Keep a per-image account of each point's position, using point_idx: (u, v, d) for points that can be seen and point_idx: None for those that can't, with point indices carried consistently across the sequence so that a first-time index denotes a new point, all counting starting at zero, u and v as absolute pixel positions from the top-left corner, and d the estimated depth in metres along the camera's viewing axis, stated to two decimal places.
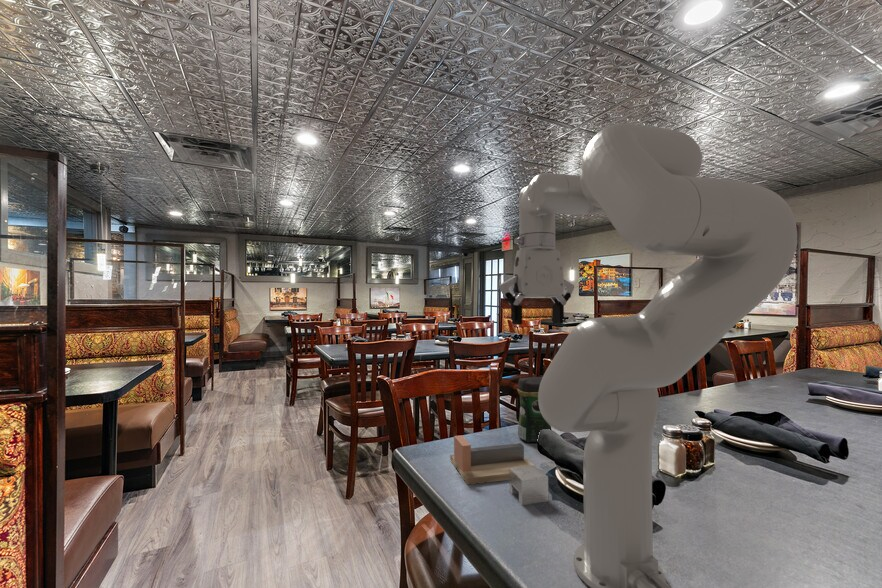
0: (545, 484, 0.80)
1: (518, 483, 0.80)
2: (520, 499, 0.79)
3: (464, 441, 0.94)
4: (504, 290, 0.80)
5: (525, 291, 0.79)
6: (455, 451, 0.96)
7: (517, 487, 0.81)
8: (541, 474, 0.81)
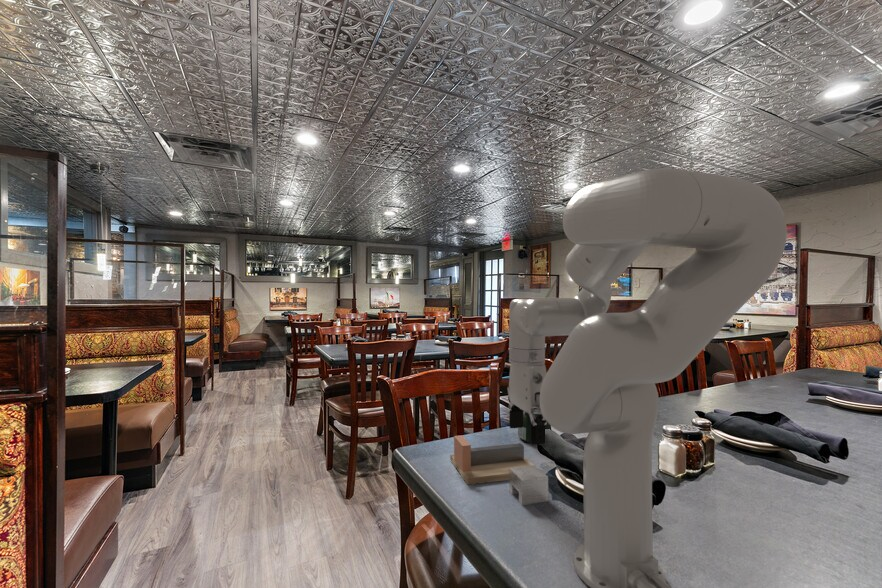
0: (545, 484, 0.80)
1: (518, 483, 0.80)
2: (520, 499, 0.79)
3: (464, 441, 0.94)
4: None
5: None
6: (455, 451, 0.96)
7: (517, 486, 0.81)
8: (541, 474, 0.81)
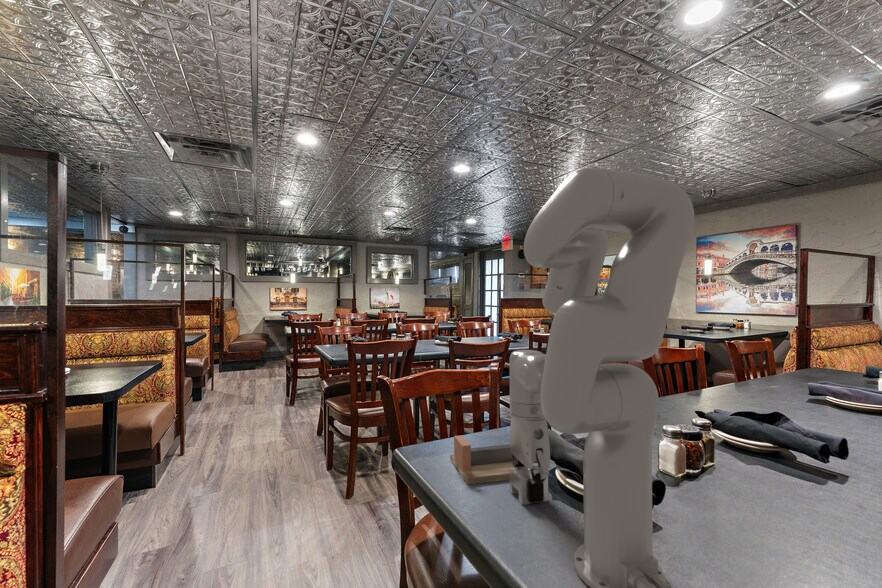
0: (545, 484, 0.80)
1: (518, 483, 0.80)
2: (520, 499, 0.79)
3: (464, 441, 0.94)
4: None
5: None
6: (455, 451, 0.96)
7: (516, 486, 0.81)
8: None
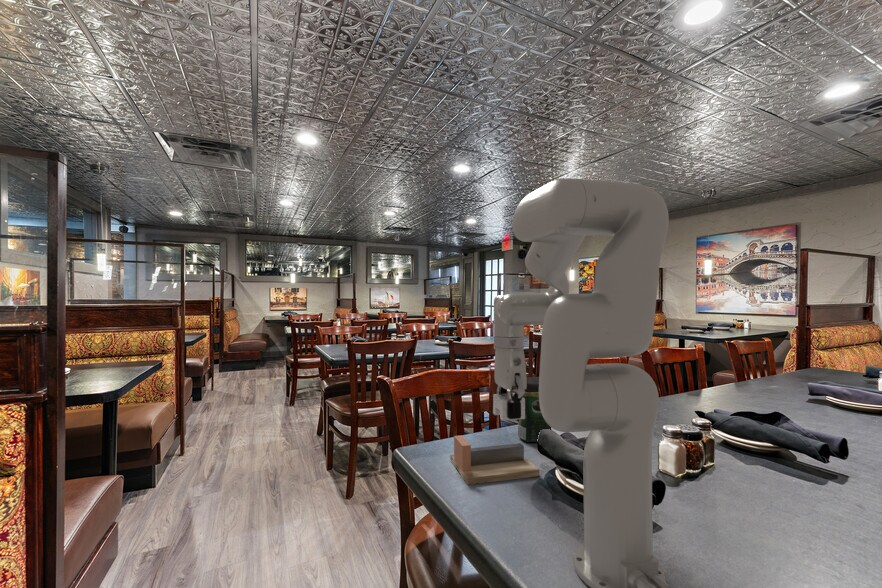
0: (522, 404, 0.96)
1: (500, 403, 0.96)
2: (501, 416, 0.95)
3: (464, 441, 0.94)
4: None
5: None
6: (455, 451, 0.96)
7: (499, 407, 0.96)
8: None
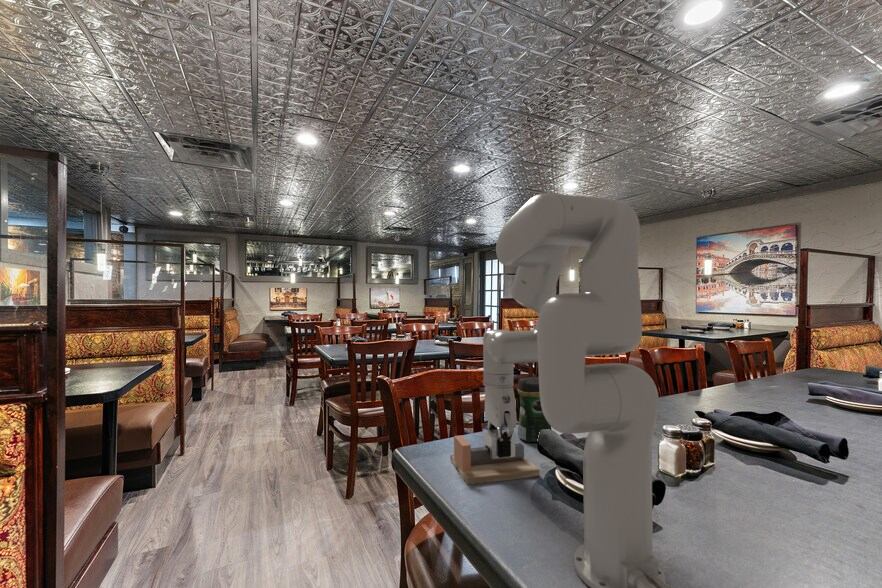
0: (512, 442, 0.94)
1: (489, 441, 0.95)
2: (491, 454, 0.94)
3: (464, 441, 0.94)
4: None
5: None
6: (455, 451, 0.96)
7: (488, 444, 0.95)
8: None
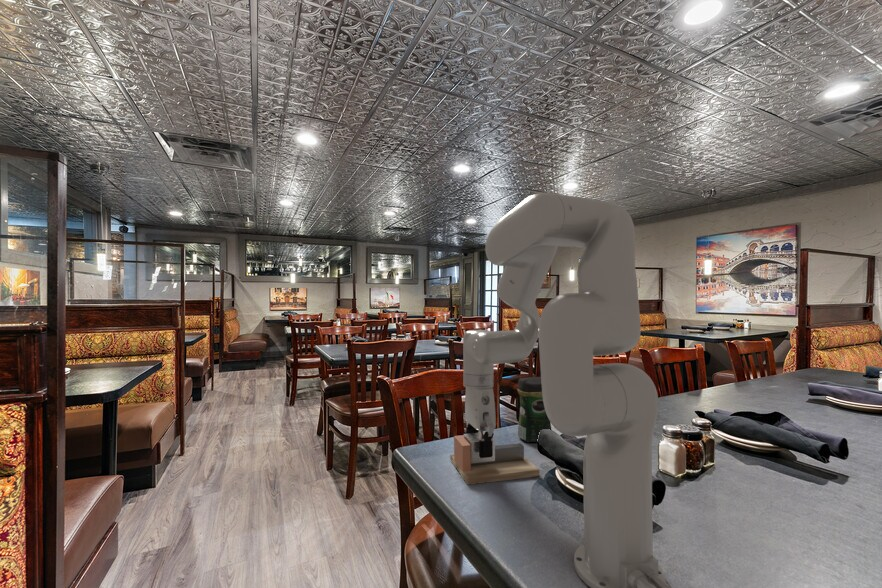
0: None
1: None
2: None
3: (464, 441, 0.94)
4: None
5: None
6: (455, 451, 0.96)
7: None
8: None
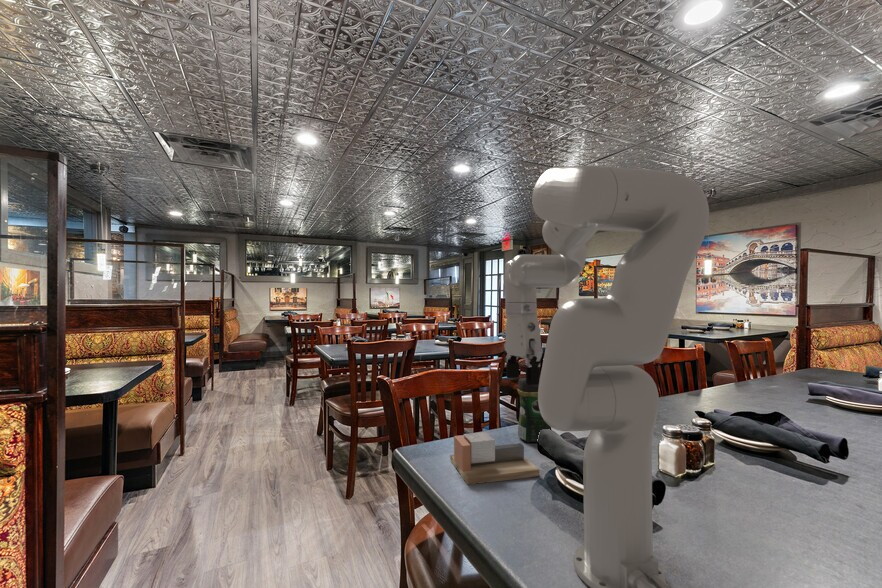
0: (492, 446, 0.93)
1: None
2: None
3: (464, 441, 0.94)
4: None
5: None
6: (455, 451, 0.96)
7: None
8: (489, 438, 0.94)
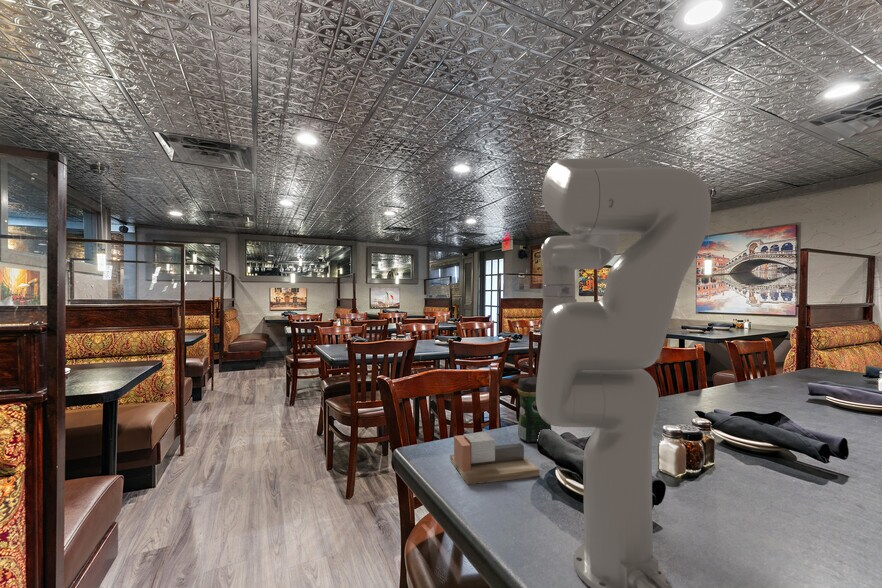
0: (492, 446, 0.93)
1: None
2: None
3: (464, 441, 0.94)
4: None
5: None
6: (455, 451, 0.96)
7: None
8: (489, 438, 0.94)
